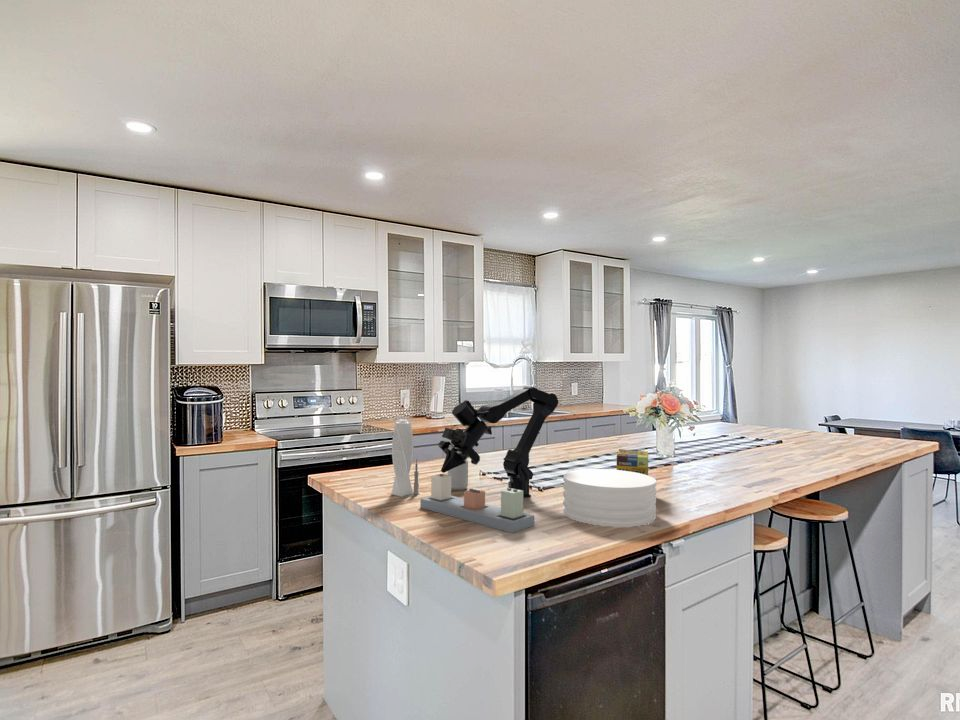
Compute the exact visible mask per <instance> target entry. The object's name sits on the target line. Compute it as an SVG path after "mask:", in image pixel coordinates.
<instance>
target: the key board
mask: <svg viewBox="0 0 960 720" xmlns="http://www.w3.org/2000/svg"><path fill="white" fill-rule="evenodd" d="M419 506H420V508H421V509H424V510H428V511H432V512H434V513H439V514H441V515H442V514H443V515H446V516H450V517H454V518H457V519H460V520H464V521H468V522H472V523H475V524H478V525H482V526H486V527H490V528H492V529H496V530H499V531H505V532H507V533H511V534H513V533H516V532H519V531H523V530H526V529H528V528H531V527H533V526H535V515H533V514H530V513H525V512H523V516H519V517H516V518H509V517H505V516H501V506H496V505H492V504H489V503H485V508H483V509H480V510H476V511H474V510H470V509H466V508H464V497H459V496H455V495H451V498H448V499H444V500H438V499H434V498H431V495H430V496H428V497H427V496H426V497H423V498H420V505H419Z"/></svg>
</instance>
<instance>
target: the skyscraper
mask: <svg viewBox="0 0 960 720" xmlns="http://www.w3.org/2000/svg"><path fill="white" fill-rule="evenodd" d="M396 418H397V419H396ZM398 418H400V419H398ZM393 420H394V421H393V422H395V424H394V429H393V434H392V440H391V441H392V444H391V458H392V465H393V472H394V474H395V475H394V479H393V484H392V485H393V486H392V491H391V496H396V497H400V498H404V499H407V498H410V497H411V498H412V497H414V496H418V495H420V493H419V486H420V484H419V470H418V466H419V464H418V459H417V458H416V459H415V464H414V465H415V466H414V467H415V468H414V469H415V470H414V472H413V473H414V474H413V475H414V483H413V487H412V483H411V478H410V472H411V468H412V463H413V459H414V457H413V456H414V445H415V444H414V435H413V434H414V433H413V429H412V428H413V427H412V423H411V421H412V420H410V419H409V418H407V417H405V416H402V415H401V416H400V415H395V416H393Z"/></svg>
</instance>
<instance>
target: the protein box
mask: <svg viewBox="0 0 960 720" xmlns="http://www.w3.org/2000/svg"><path fill="white" fill-rule="evenodd" d="M615 468H616V469H615V470H622V471H630V472H636V473H641V474H645V475H648V476H649V451H648V450H646V451H645V450H635V449H634V450H633V449H621V448H620V449H618V451H617V454H616V467H615Z"/></svg>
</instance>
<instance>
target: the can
mask: <svg viewBox="0 0 960 720" xmlns="http://www.w3.org/2000/svg"><path fill="white" fill-rule="evenodd" d="M465 462H466V463H465V464H462V465H460V466H457V467H455V468H453V469H451V470H449V471H447V475H449V476H451V491H464V490H465V491H466V488H468V486H469V460H468V458H467V459H466V460H465Z"/></svg>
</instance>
